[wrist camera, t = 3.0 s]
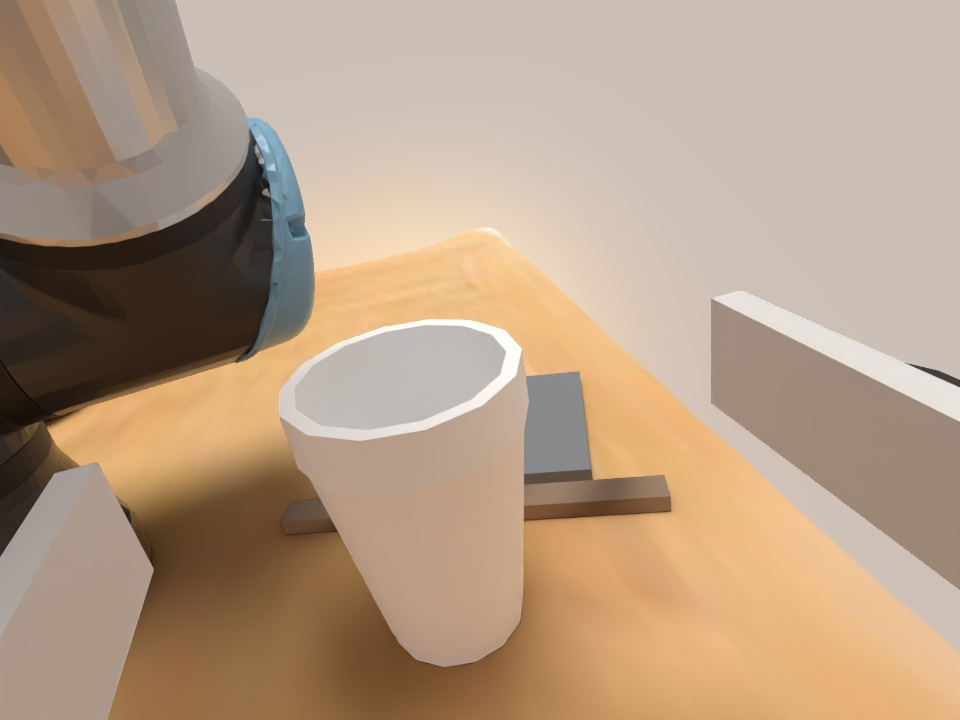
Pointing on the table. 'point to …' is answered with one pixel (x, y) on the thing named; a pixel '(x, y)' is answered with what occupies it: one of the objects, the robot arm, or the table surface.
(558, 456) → the mat
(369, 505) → the foam cup
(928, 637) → the table surface
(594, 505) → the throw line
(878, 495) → the robot arm
